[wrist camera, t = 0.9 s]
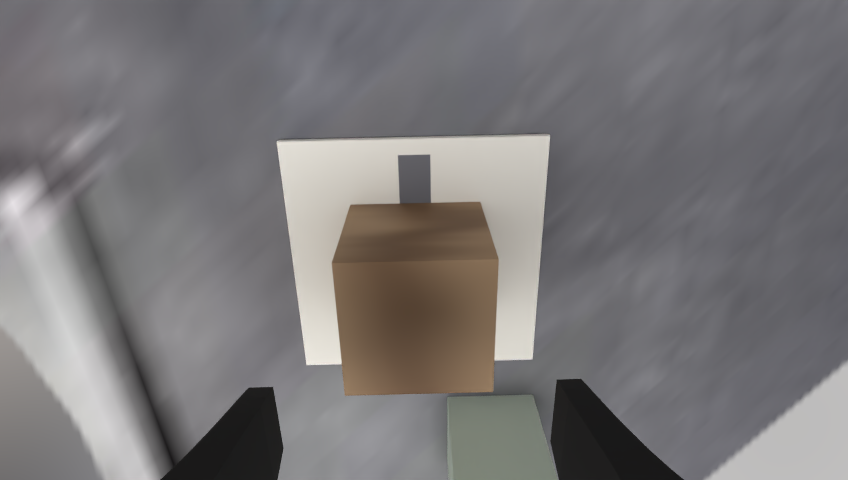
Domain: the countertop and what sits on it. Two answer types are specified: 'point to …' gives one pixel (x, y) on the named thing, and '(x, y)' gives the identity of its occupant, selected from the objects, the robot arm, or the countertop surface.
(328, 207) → the letter card
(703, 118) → the countertop surface
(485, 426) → the sage pillar
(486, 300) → the walnut block
